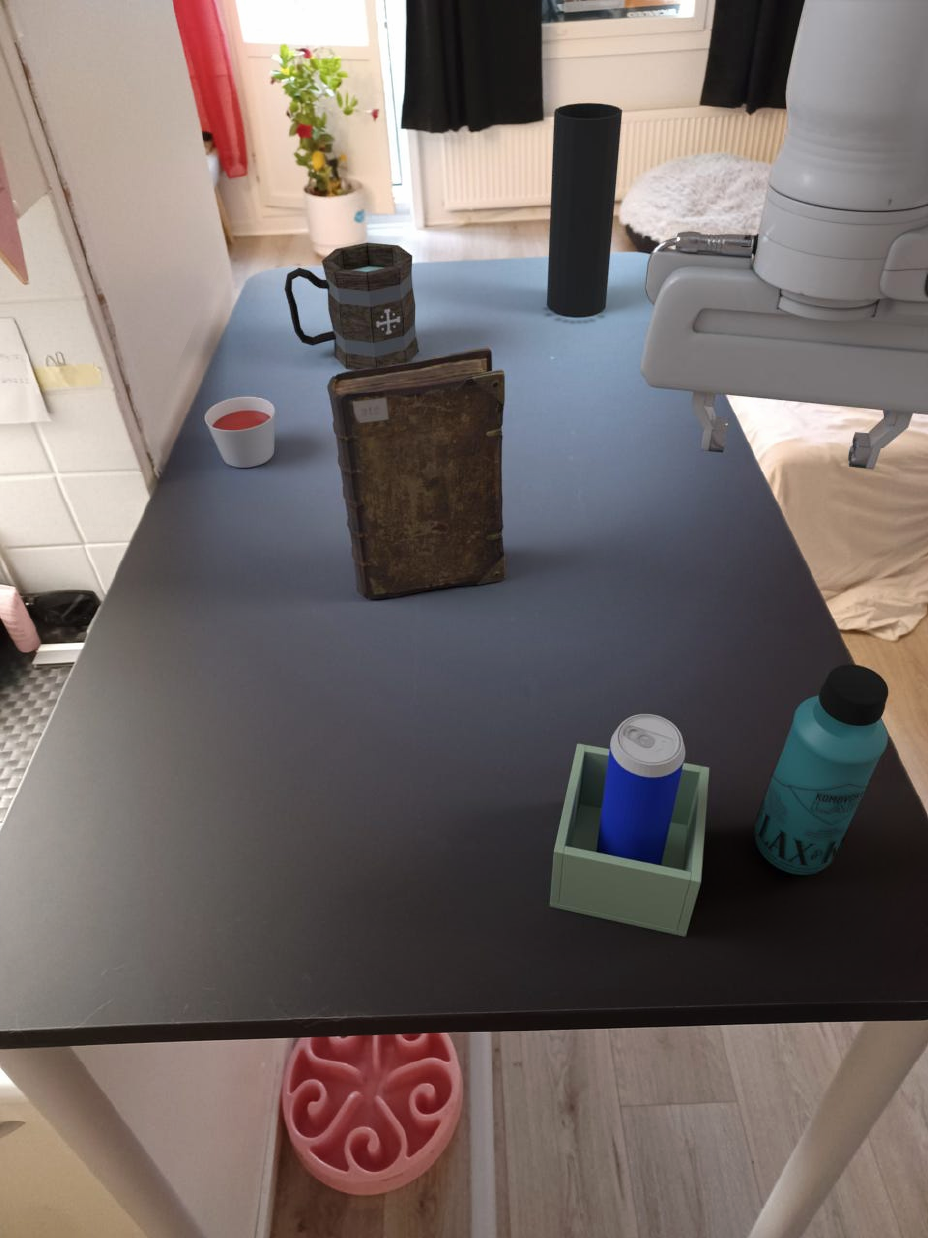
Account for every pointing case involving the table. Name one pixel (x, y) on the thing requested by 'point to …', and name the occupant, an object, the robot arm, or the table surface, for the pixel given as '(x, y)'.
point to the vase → (582, 207)
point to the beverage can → (640, 788)
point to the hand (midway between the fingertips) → (784, 455)
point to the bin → (621, 882)
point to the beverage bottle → (823, 771)
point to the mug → (365, 305)
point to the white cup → (243, 430)
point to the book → (422, 472)
